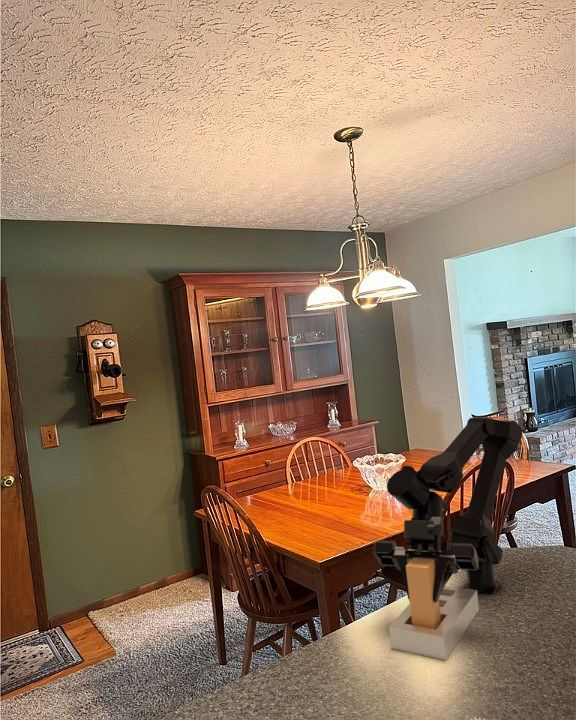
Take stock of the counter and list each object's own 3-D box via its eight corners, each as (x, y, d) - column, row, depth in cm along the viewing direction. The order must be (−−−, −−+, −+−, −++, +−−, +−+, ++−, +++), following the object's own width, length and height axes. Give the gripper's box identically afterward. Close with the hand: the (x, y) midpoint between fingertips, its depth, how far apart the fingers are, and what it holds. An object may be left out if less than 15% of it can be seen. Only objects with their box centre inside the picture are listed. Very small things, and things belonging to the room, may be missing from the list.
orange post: (420, 626, 106) (413, 557, 106) (442, 630, 104) (434, 559, 104) (413, 637, 103) (405, 565, 102) (435, 640, 100) (427, 568, 100)
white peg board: (430, 602, 119) (428, 582, 119) (478, 610, 113) (476, 589, 113) (391, 648, 102) (388, 626, 102) (445, 660, 96) (443, 636, 96)
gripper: (370, 499, 111) (359, 578, 101) (469, 500, 103) (468, 585, 93) (384, 526, 118) (376, 603, 108) (478, 529, 110) (478, 611, 100)
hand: (422, 600), depth 102 cm, fingers closed on orange post, 4 cm apart
